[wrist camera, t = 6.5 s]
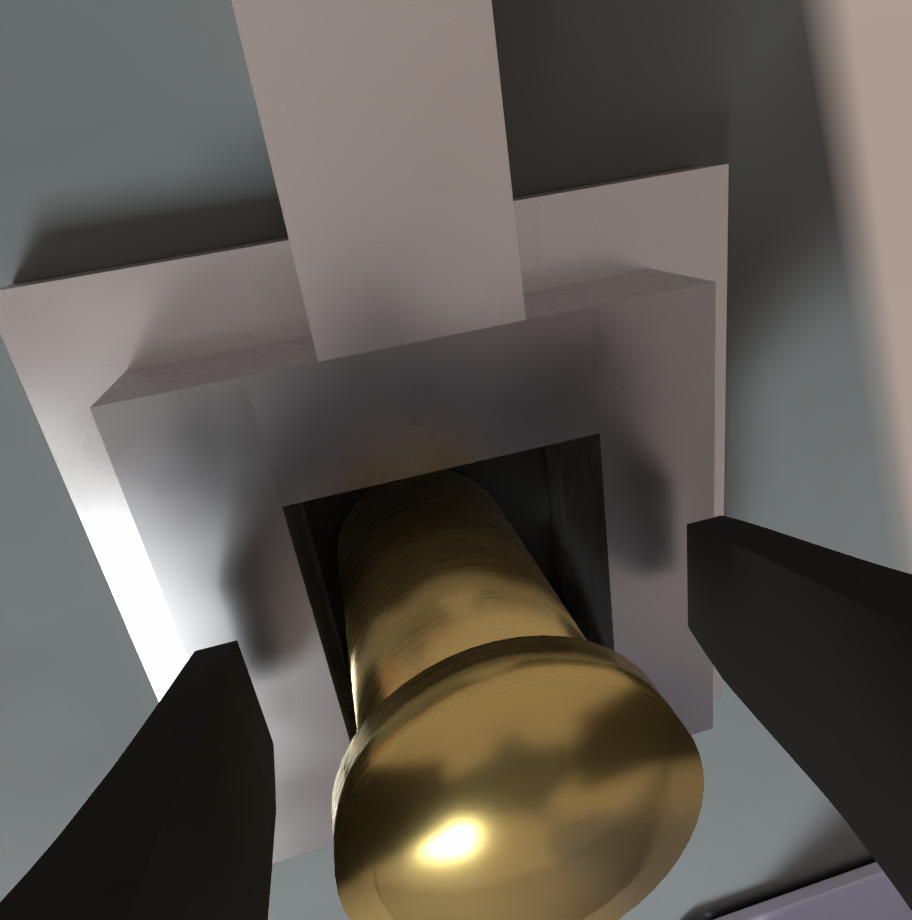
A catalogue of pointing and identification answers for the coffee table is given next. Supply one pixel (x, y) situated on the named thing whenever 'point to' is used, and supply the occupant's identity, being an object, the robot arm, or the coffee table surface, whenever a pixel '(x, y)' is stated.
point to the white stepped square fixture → (389, 372)
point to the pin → (491, 729)
